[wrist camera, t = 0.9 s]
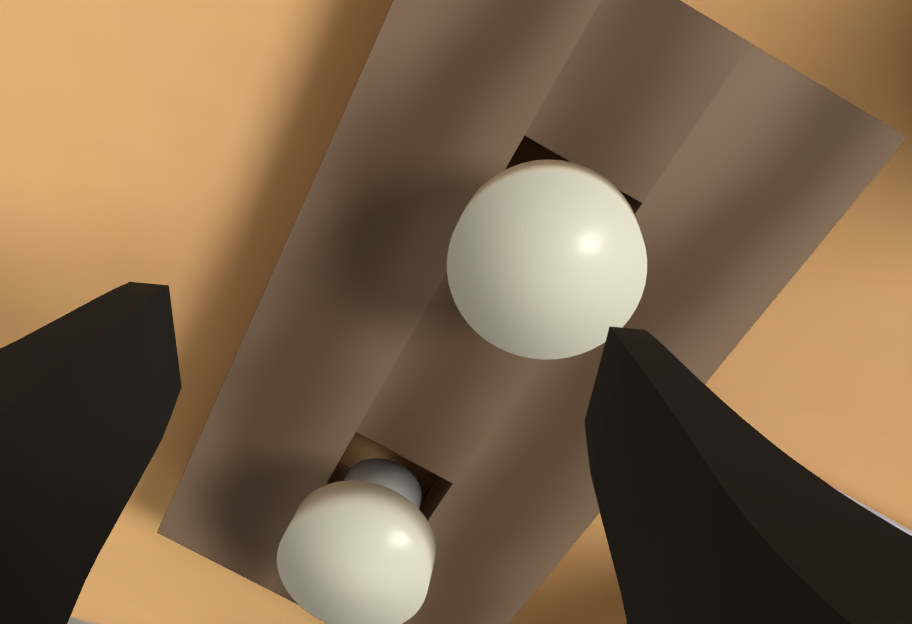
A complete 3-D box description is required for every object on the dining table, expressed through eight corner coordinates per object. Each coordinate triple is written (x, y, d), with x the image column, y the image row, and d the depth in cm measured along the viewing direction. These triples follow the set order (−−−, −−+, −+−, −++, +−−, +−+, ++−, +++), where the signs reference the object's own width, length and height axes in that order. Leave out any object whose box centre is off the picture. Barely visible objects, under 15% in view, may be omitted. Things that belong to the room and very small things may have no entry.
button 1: (666, 195, 21) (689, 236, 17) (575, 327, 23) (577, 391, 19) (518, 110, 20) (507, 132, 16) (439, 251, 22) (413, 301, 18)
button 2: (472, 477, 25) (455, 558, 22) (411, 565, 28) (387, 654, 24) (350, 412, 25) (312, 483, 21) (298, 506, 27) (254, 586, 23)
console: (863, 121, 22) (907, 137, 19) (466, 628, 32) (457, 685, 29) (468, -116, 21) (454, -136, 18) (192, 487, 31) (157, 532, 29)
